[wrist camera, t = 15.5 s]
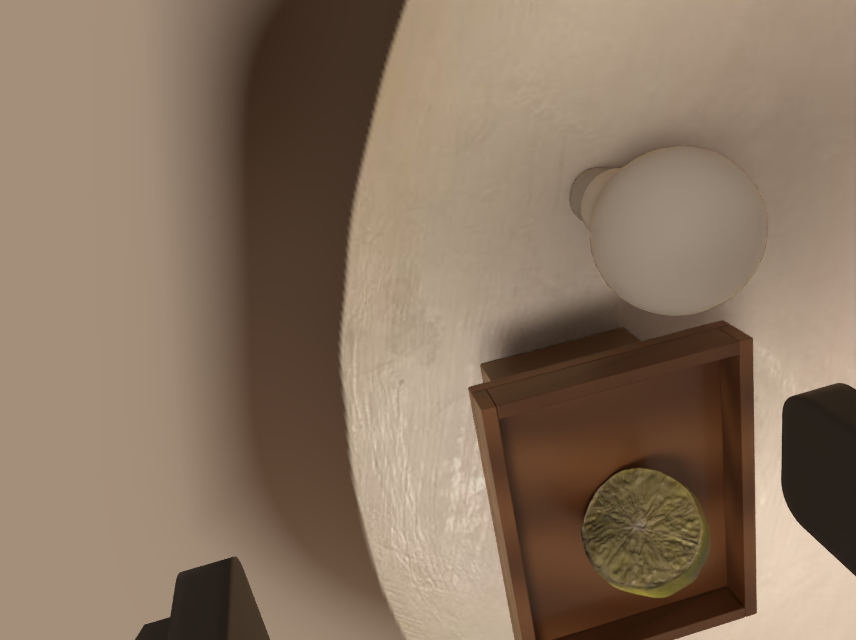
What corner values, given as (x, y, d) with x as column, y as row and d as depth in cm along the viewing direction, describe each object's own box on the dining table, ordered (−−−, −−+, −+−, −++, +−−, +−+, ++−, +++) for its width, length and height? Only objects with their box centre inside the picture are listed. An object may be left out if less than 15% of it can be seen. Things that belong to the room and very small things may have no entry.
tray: (436, 332, 35) (481, 410, 27) (654, 277, 36) (753, 337, 29) (483, 567, 40) (530, 685, 33) (670, 512, 42) (757, 613, 34)
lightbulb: (567, 100, 32) (703, 124, 22) (673, 160, 34) (841, 209, 24) (502, 223, 34) (601, 300, 23) (607, 275, 36) (740, 366, 25)
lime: (560, 541, 32) (608, 623, 28) (594, 446, 31) (650, 515, 26) (648, 548, 33) (708, 629, 29) (684, 457, 32) (754, 526, 27)
